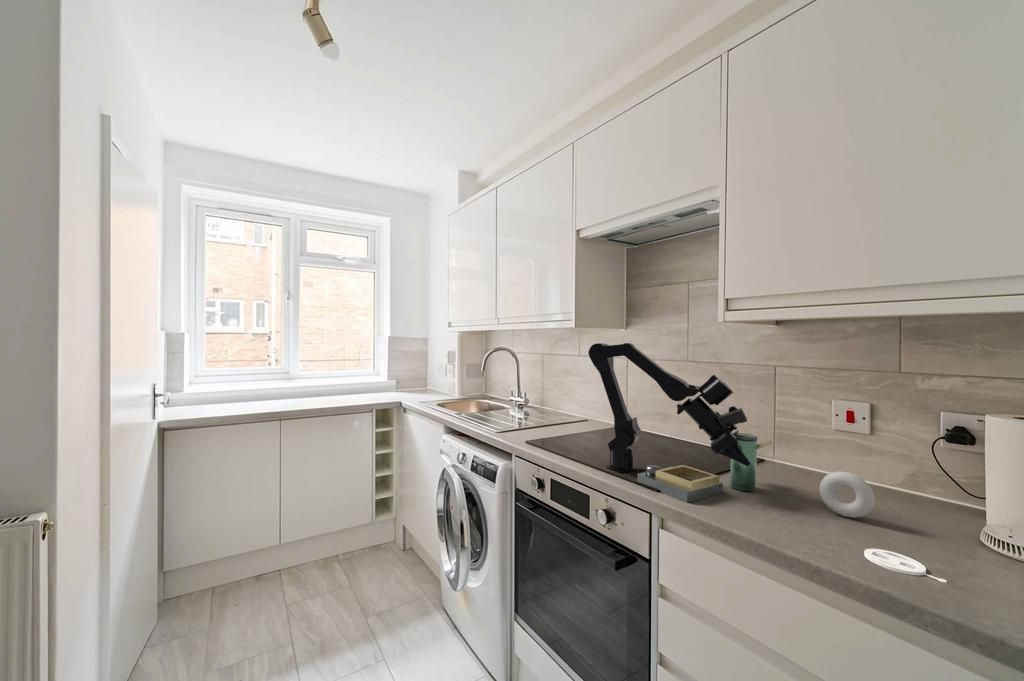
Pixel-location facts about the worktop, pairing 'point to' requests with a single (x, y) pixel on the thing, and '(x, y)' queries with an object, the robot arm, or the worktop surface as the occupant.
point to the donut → (856, 484)
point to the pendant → (897, 562)
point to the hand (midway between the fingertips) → (749, 461)
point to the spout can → (743, 474)
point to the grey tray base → (681, 482)
